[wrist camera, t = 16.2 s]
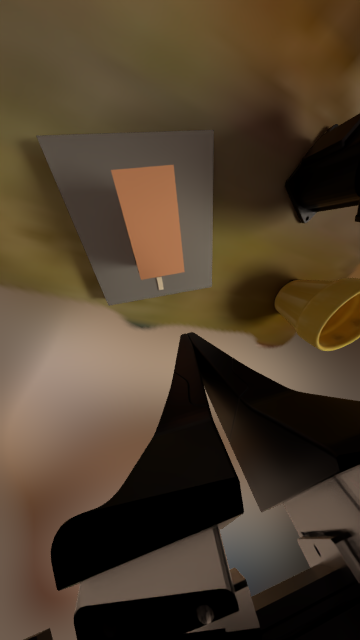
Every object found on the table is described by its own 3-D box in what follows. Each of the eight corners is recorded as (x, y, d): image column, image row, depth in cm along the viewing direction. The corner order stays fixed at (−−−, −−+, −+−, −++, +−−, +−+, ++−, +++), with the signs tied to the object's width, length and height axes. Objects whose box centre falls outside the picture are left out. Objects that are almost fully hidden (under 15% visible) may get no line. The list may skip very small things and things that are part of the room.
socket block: (203, 146, 14) (214, 128, 12) (205, 282, 21) (212, 287, 19) (55, 153, 12) (34, 134, 10) (112, 298, 20) (108, 306, 17)
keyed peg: (168, 258, 19) (184, 272, 11) (143, 263, 18) (141, 279, 11) (160, 201, 15) (173, 164, 8) (128, 205, 15) (110, 170, 7)
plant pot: (259, 291, 24) (317, 317, 16) (314, 255, 23) (407, 264, 15) (269, 328, 30) (317, 362, 21) (314, 301, 28) (382, 326, 20)
